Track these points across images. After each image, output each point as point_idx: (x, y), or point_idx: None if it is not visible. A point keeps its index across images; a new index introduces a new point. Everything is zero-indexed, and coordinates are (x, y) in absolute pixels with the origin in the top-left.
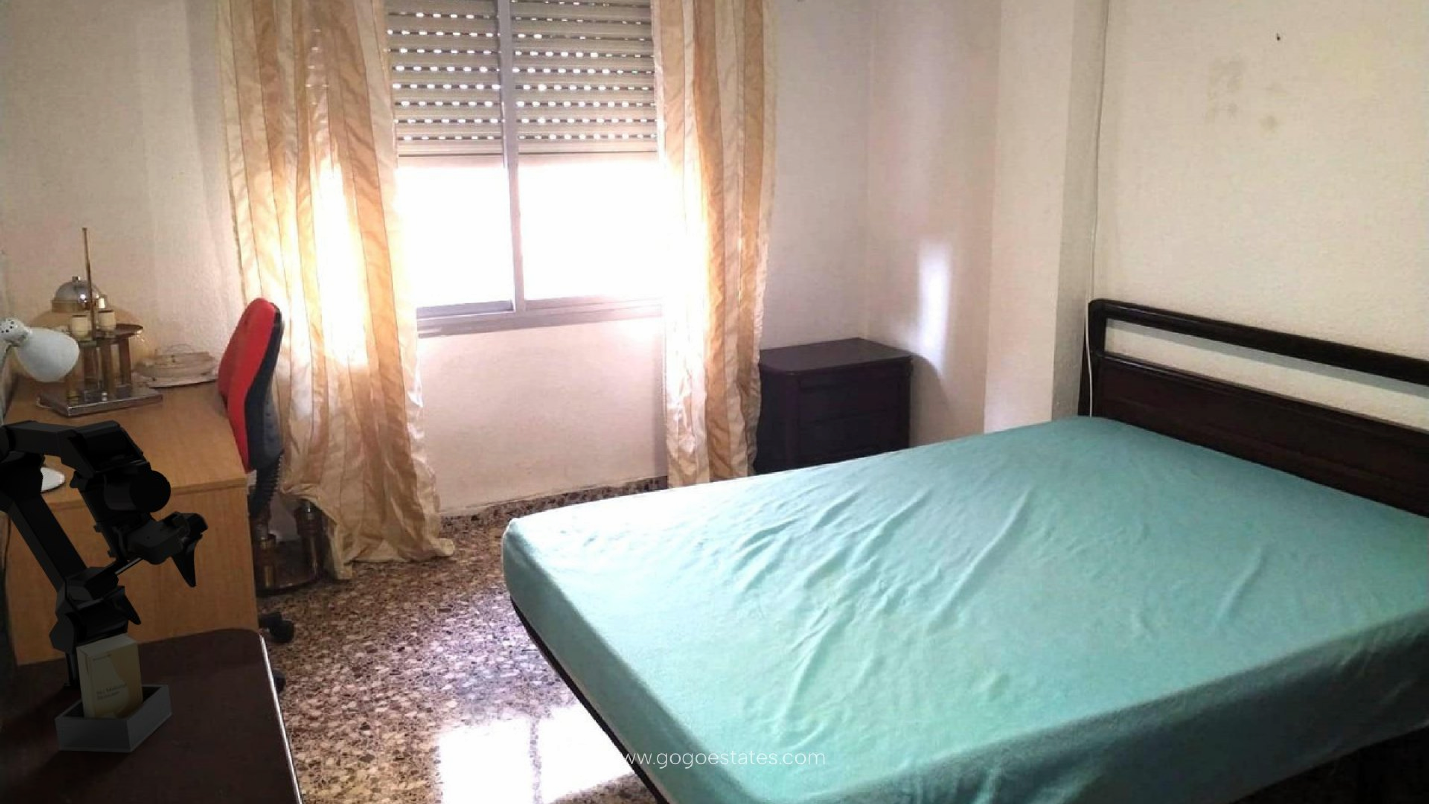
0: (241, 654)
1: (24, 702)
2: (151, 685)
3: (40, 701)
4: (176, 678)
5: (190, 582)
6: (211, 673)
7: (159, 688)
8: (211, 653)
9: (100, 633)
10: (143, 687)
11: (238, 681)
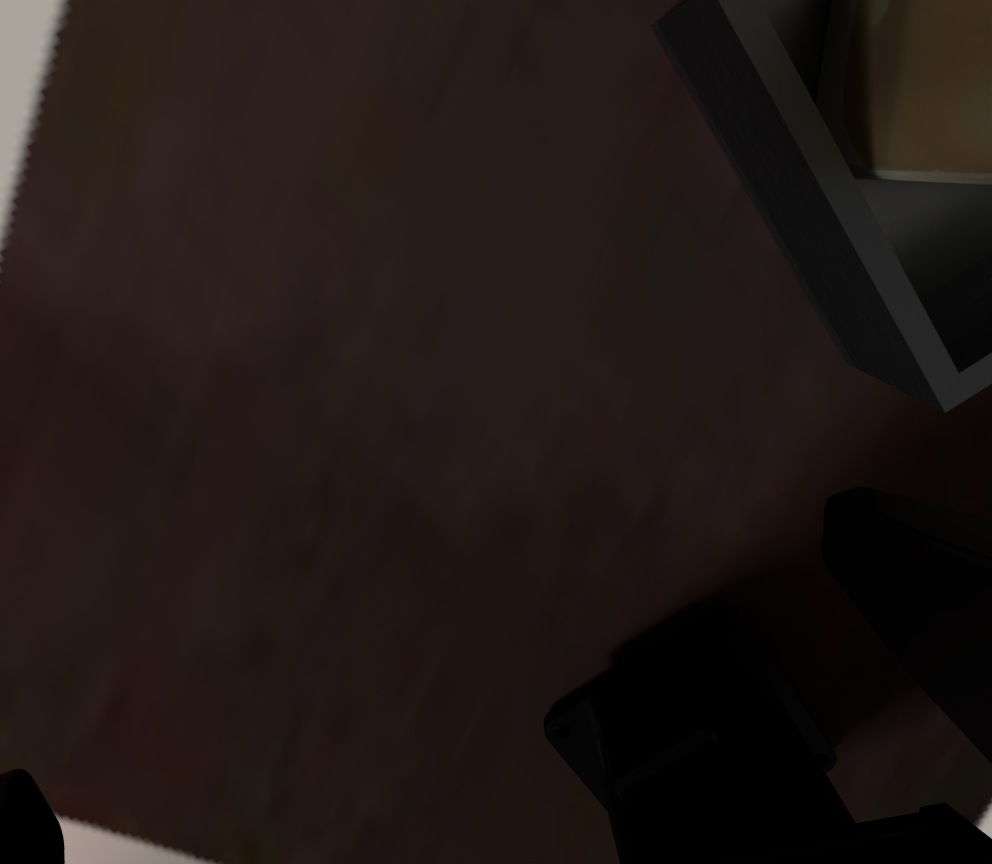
0: (30, 462)
1: None
2: (782, 92)
3: None
4: (423, 456)
5: (18, 858)
6: (259, 364)
7: (760, 14)
8: (159, 598)
9: (828, 849)
10: (822, 123)
11: (182, 128)
